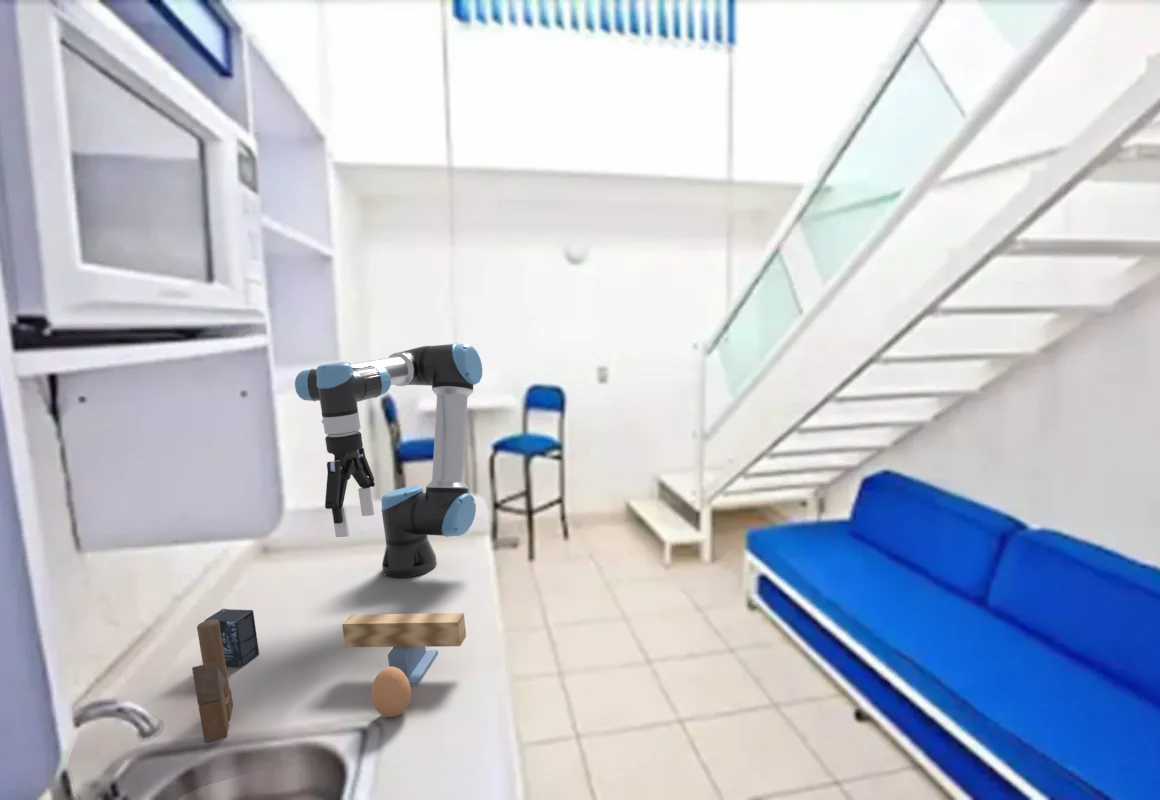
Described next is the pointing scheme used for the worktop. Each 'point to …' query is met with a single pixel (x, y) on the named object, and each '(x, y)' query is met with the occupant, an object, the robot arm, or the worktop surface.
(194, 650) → the worktop surface
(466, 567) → the worktop surface
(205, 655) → the wooden block
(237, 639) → the box
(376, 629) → the oak bar
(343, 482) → the robot arm
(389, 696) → the egg
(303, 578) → the worktop surface
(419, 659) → the fulcrum
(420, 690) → the worktop surface
